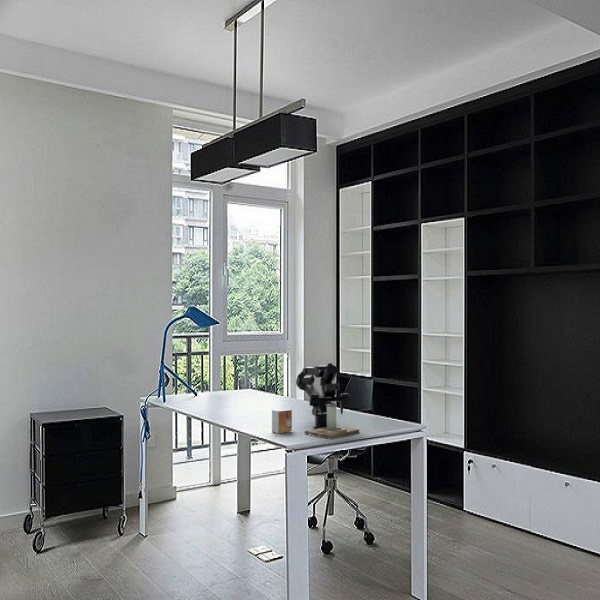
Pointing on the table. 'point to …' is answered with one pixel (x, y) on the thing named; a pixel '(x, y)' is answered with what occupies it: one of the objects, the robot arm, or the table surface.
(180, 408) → the table surface
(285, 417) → the small box
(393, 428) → the table surface
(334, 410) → the bobbin
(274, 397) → the table surface
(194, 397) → the table surface
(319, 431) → the notched board
